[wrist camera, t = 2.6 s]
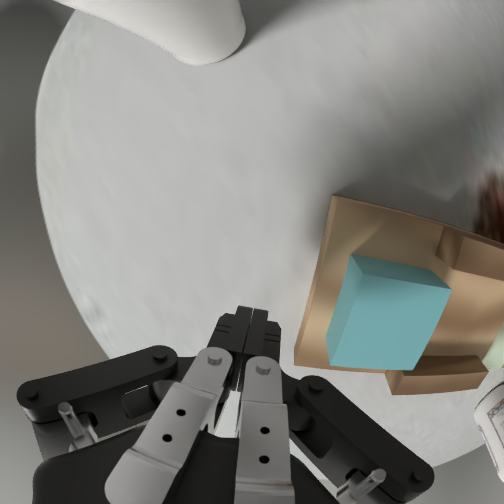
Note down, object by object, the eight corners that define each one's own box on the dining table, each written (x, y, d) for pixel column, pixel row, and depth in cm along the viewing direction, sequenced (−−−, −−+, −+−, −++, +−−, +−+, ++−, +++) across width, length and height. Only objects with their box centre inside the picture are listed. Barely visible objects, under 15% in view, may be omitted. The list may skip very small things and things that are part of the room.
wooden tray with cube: (331, 194, 16) (346, 206, 12) (560, 268, 14) (582, 282, 10) (294, 348, 20) (293, 389, 16) (522, 354, 18) (537, 374, 14)
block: (350, 253, 15) (363, 273, 12) (430, 269, 15) (452, 289, 12) (325, 336, 17) (330, 365, 14) (399, 344, 17) (412, 370, 14)
